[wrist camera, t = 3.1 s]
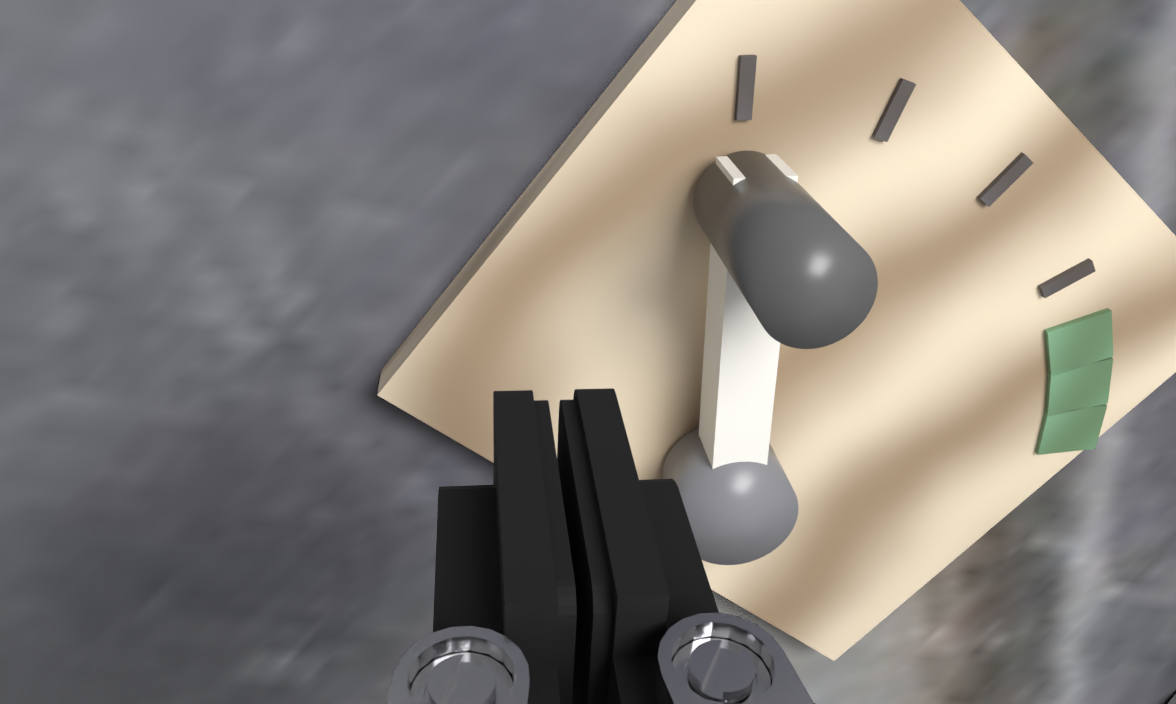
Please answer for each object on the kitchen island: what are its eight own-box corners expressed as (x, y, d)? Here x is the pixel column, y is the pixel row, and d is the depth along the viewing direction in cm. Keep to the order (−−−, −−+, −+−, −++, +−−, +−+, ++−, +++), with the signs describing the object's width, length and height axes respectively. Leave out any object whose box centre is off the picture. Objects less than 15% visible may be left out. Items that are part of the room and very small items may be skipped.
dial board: (1212, 293, 30) (1251, 317, 28) (822, 631, 35) (837, 665, 34) (798, -153, 22) (822, -154, 21) (381, 369, 28) (376, 398, 26)
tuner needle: (769, 510, 30) (836, 656, 24) (660, 518, 29) (704, 669, 24) (810, 145, 24) (910, 231, 19) (675, 150, 24) (737, 240, 18)
